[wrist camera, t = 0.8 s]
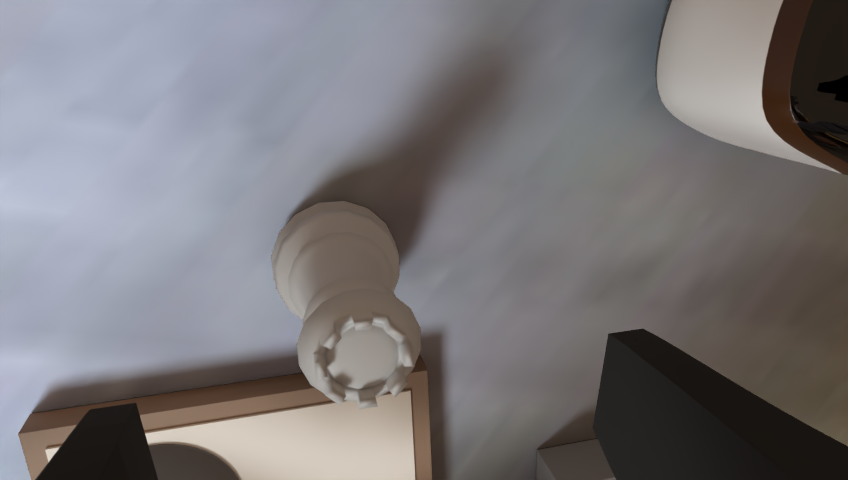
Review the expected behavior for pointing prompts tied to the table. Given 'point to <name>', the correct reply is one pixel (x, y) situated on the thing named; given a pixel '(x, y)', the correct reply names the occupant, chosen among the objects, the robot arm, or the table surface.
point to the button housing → (573, 462)
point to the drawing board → (265, 432)
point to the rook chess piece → (346, 302)
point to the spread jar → (760, 75)
